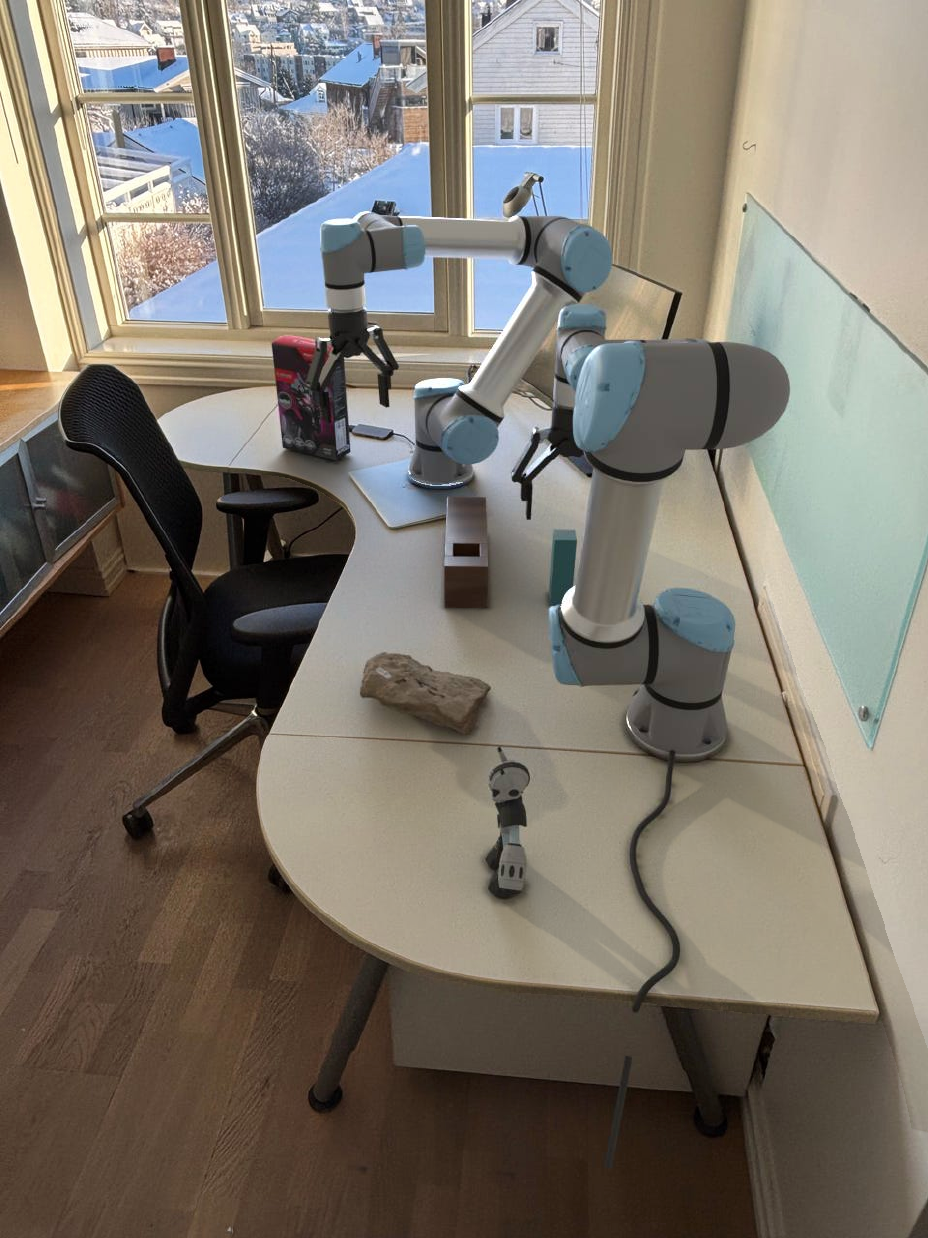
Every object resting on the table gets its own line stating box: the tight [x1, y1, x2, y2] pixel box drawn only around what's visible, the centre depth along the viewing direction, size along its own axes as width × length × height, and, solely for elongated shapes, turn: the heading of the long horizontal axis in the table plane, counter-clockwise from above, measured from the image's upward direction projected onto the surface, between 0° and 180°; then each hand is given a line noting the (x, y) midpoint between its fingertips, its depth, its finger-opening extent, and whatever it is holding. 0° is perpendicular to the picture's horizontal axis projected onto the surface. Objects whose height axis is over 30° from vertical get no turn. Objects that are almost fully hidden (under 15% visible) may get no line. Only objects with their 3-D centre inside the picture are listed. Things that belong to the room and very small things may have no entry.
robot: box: [485, 746, 531, 899], centre depth 114 cm, size 20×5×20 cm, turn 3°
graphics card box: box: [271, 334, 351, 461], centre depth 223 cm, size 17×7×27 cm, turn 62°
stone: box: [359, 651, 492, 735], centre depth 146 cm, size 21×15×6 cm
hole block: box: [443, 496, 489, 609], centre depth 181 cm, size 28×8×9 cm, turn 0°
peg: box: [548, 529, 578, 607], centre depth 170 cm, size 4×4×14 cm
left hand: (356, 413), depth 188 cm, fingers open, 13 cm apart
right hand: (566, 516), depth 165 cm, fingers open, 13 cm apart
